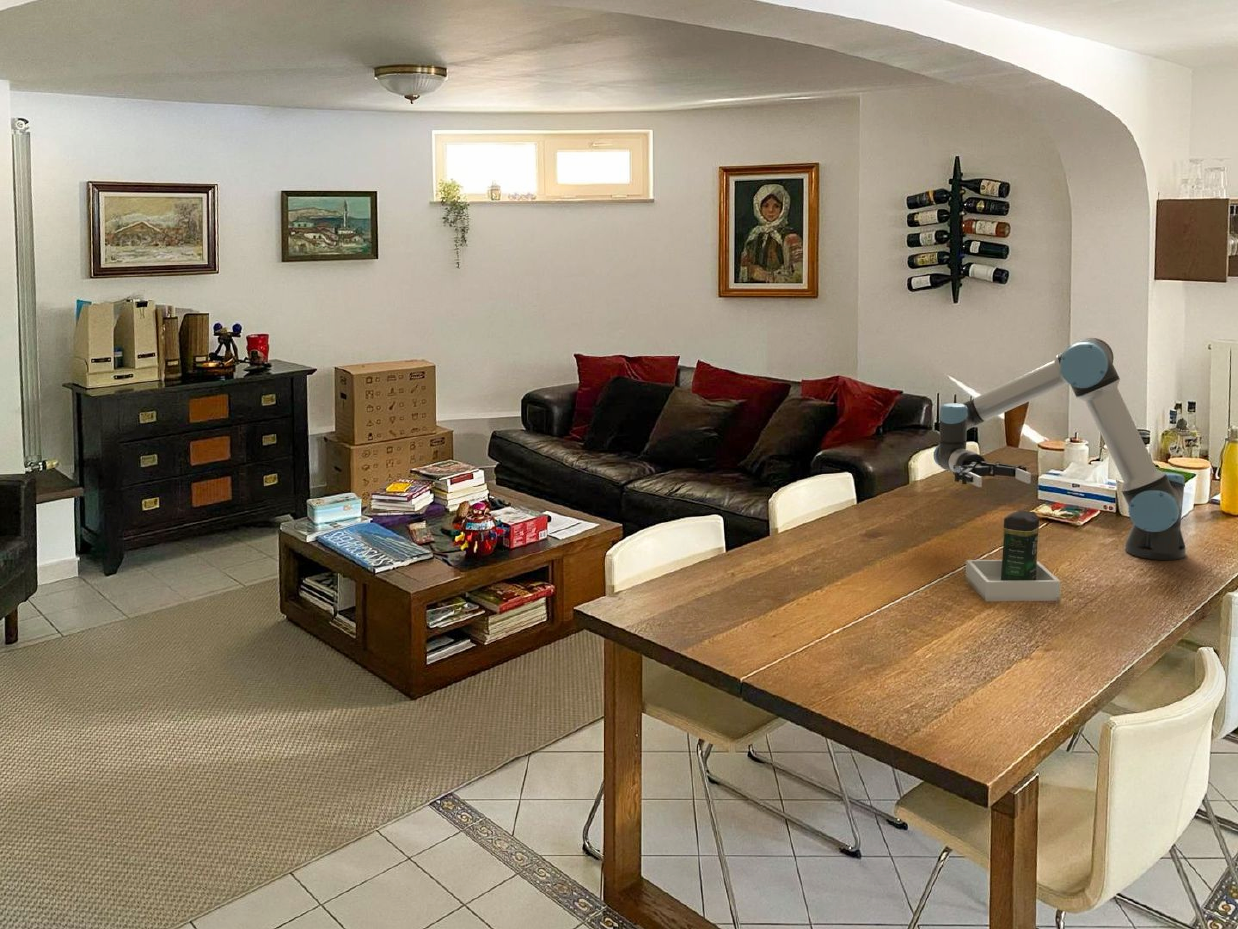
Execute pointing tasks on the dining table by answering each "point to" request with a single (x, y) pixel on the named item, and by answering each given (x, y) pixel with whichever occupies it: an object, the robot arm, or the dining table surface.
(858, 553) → the dining table surface
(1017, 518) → the coffee jar
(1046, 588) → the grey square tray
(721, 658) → the dining table surface
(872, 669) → the dining table surface
